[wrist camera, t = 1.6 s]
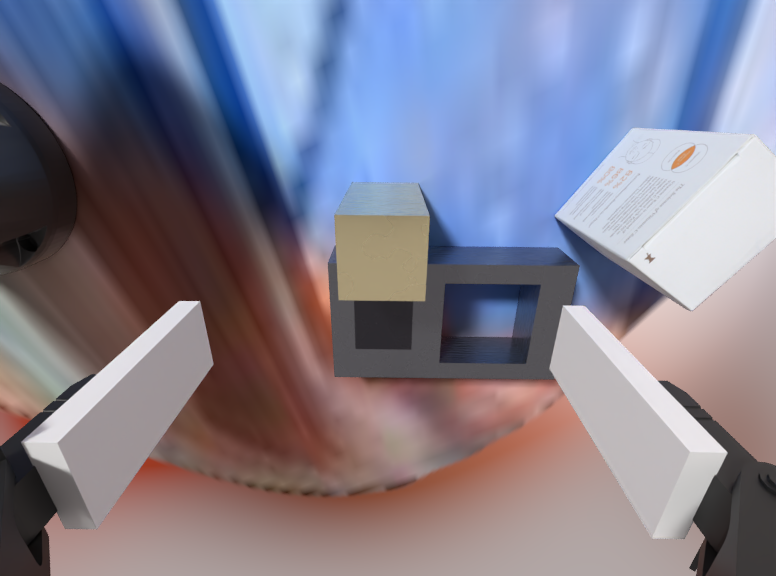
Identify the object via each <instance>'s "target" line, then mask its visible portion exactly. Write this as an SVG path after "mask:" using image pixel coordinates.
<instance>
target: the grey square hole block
mask: <svg viewBox="0 0 776 576" xmlns="http://www.w3.org/2000/svg"><path fill="white" fill-rule="evenodd" d="M579 267H580V266H579V265H578V264H577V263H576V262H575V261H573V260H572V259H571V258H570V257H569V256H567V255H566V254H565V253H564V252H563V251H561V250H560V249H559V248H534V247H442V246H428V261H427V278H426V295H425V301H357V300H339V298H338V278H337V258H336V245H335V247H334V250H333V252H332V254H331V257H330V259H329V262H328V273H329V290H330V307H331V324H332V340H333V357H334V374H335V377H392V378H474V379H554V375H553V374H552V372H551V370H550V369H549V368H550V363H551V359H552V354H553V349H554V345H555V340H556V336H557V331H558V326H559V322H560V317H561V312H562V308H563V305H564V306H571V302H572V297H573V293H574V289H575V284H576V280H577V276H578V271H579ZM445 284H521V287H520V293H519V299H518V305H517V312H516V318H515V324H514V330H513V336H512V338H508V337H441V332H442V319H443V306H444V293H445Z"/></svg>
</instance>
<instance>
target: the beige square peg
mask: <svg viewBox="0 0 776 576" xmlns="http://www.w3.org/2000/svg"><path fill="white" fill-rule="evenodd" d="M334 217H335V237H336V258H337V278H338V298H339V300H357V301H425V295H426V278H427V261H428V243H429V221H430V215H429V212H428V209H427V207H426V204H425V201H424V198H423V195H422V193H421V190H420V187H419V184H418V183H376V182H352V183H351V185H350V187H349V189H348V191H347V192H346V194H345V196H344V198H343V200H342V202H341V204H340V205H339V207H338V209H337V211H336V213H335V215H334Z"/></svg>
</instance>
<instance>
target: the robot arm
mask: <svg viewBox="0 0 776 576" xmlns="http://www.w3.org/2000/svg"><path fill="white" fill-rule="evenodd" d="M76 207H77V201H76V190H75V185H74V180H73V177H72V173H71V170H70V168H69V165H68V163H67V160H66V158H65V156H64V154H63V152H62V150H61V148H60V146H59V144H58V143H57V141H56V140H55V138H54V136H53V135H52V133H51V132H50V131H49V129H48V128H47V126H46V125H45V124H44V123H43V121H42V120H41V119H40V118H39V117H38V116H37V114H36V113H35V112H34V111H33V110H32V109H31V108H30V107H29V106H28V105H27V104H26V103H25V102H24V101H23V100H21V99H20V98H19V97H18V96H17V95H16V94H14V93H13V92H12V91H11V90H9V89H8V88H7V87H5V86H4V85H3V84H1V83H0V275H1V274H7V273H11V272H14V271H18V270H21V269H23V268H26V267H28V266H30V265H33V264H35V263H37V262H40V261H42V260H44V259H46V258H48V257H50V256H51V255H53V254H54V253H55V252H57V251H58V250H59V249H60V248H61V247H62V246H63V244H64V243H65V242H66V240H67V239H68V237H69V235H70V233H71V231H72V229H73V225H74V222H75V217H76ZM212 366H213V359H212V354H211V350H210V345H209V340H208V336H207V331H206V326H205V322H204V317H203V312H202V308H201V303H200V301H179V302H177V303H176V304H175V305H174V306H173V307H172V308H171V309H170V310H168V311H167V312H166V313H165V314H164V315H163V316H162V317H161V318H159V319H158V320H157V321H156V322H155V323H154V324H153V325H152V326H151V327H149V328H148V329H147V330H146V331H145V332H144V333H143V334H142V335H140V336H139V337H138V338H137V339H136V340H135V341H134V342H133V343H131V344H130V345H129V346H128V347H127V348H126V349H125V350H124V351H123V352H121V353H120V354H119V355H118V356H117V357H116V358H115V359H114V360H112V361H111V362H110V363H109V364H108V365H107V366H106V367H105V368H103V369H102V370H101V371H100V372H99V373H98V374H91V375H90V376H88V377H86V378H84V379H82V380H81V381H79V382H77V383H75V384H73V385H72V386H70V387H69V388H68V389H67V390H66V391H65V392H63V393H62V394H61V395H60V396H59V397H58V398H56V401H53V402H52V403H51V404H49V405H48V406H47V407H46V408H45V409H44V411H43V412H40V413H39V414H38V415H37V416H35V417H34V418H33V419H32V420H31V421H30V422H28V423H27V424H26V425H25V426H24V427H23V428H21V429H20V430H19V431H18V432H17V433H16V434H14V436H12V437H11V438H10V439H9V440H7V441H6V442H5V443H4V444H3V445H2V446H0V576H50V556H49V555H50V554H49V536H48V534H47V532H46V530H45V528H44V526H45V525H46V524H47V523H48V521H49V520H50V519H51V518H52V517H53V515H54V514H55V513H56V512H57V514H58V516H59V518H60V520H61V522H62V524H63V526H64V528H65V529H98V527H99V526H100V524H101V523H102V522H103V520H104V519H105V517H106V516H107V514H108V513H109V511H110V510H111V509H112V507H113V506H114V504H115V503H116V502H117V500H118V499H119V497H120V496H121V494H122V493H123V492H124V490H125V489H126V488H127V486H128V485H129V483H130V482H131V481H132V479H133V478H134V476H135V474H136V473H137V472H138V470H139V469H140V468H141V466H142V465H143V464H144V462H145V461H146V459H147V458H148V456H149V455H150V454H151V452H152V451H153V449H154V448H155V447H156V445H157V444H158V442H159V441H160V439H161V438H162V437H163V435H164V434H165V432H166V431H167V430H168V428H169V427H170V425H171V424H172V422H173V421H174V420H175V418H176V417H177V415H178V414H179V413H180V411H181V410H182V408H183V407H184V405H185V404H186V403H187V401H188V400H189V398H190V397H191V396H192V394H193V393H194V391H195V390H196V388H197V387H198V386H199V384H200V383H201V381H202V380H203V379H204V377H205V376H206V374H207V373H208V371H209V370H210V369H211V367H212ZM549 369H550V370H551V372H552V374H553V375H554V377H555V379H556V380H557V382H558V384H559V385H560V387H561V389H562V390H563V392H564V394H565V395H566V397H567V399H568V400H569V402H570V404H571V405H572V407H573V408H574V410H575V412H576V414H577V415H578V417H579V418H580V420H581V422H582V423H583V425H584V427H585V428H586V430H587V432H588V433H589V435H590V437H591V438H592V440H593V442H594V443H595V445H596V447H597V448H598V450H599V452H600V453H601V455H602V457H603V458H604V460H605V461H606V463H607V465H608V467H609V468H610V470H611V472H612V473H613V475H614V476H615V478H616V480H617V482H618V483H619V485H620V486H621V488H622V490H623V491H624V493H625V495H626V496H627V498H628V500H629V501H630V503H631V505H632V506H633V508H634V509H635V511H636V513H637V515H638V516H639V518H640V520H641V521H642V523H643V525H644V526H645V528H646V529H647V531H648V533H649V535H650V536H651V538H654V539H659V538H660V539H685V537H686V535H687V533H688V531H689V529H690V527H691V525H692V523H693V521H694V523H695V524H696V525H697V527H698V528H699V529H700V531H701V532H702V534H703V535H704V536H705V539H704V541H703V543H702V545H701V547H700V549H699V551H698V553H697V554H696V556H695V558H694V560H693V562H692V564H691V566H690V569H691V570H693V571H696V569H697V574H696V576H776V466H775V465H772V464H769V463H765V462H757V460H756V459H754V458H753V456H751V454H749V453H748V452H747V451H746V450H745V449H744V448H743V447H742V446H741V445H740V444H739V443H738V442H737V441H736V440H735V439H734V438H733V437H732V436H731V435H730V434H729V433H728V432H726V430H725V429H724V428H722V427H721V426H720V425H719V424H718V423H717V422H716V421H713V420H712V417H711V416H710V415H709V414H708V413H707V412H706V411H705V410H704V409H701V407H700V405H698V403H697V402H695V400H694V399H692V398H691V397H690V396H689V395H688V394H687V393H686V392H684V391H683V390H681V389H680V388H678V387H676V386H675V385H673V384H671V383H670V382H668V381H657V380H656V379H655V378H654V377H653V376H652V375H651V374H650V373H649V372H648V370H647V369H646V368H645V367H644V366H643V365H641V363H640V362H639V361H638V360H637V359H636V358H635V357H634V356H633V355H632V354H631V353H630V352H629V351H628V350H627V349H626V348H625V347H624V346H623V345H622V344H621V343H620V342H619V341H618V340H617V339H616V338H615V337H614V336H613V335H612V334H611V333H610V332H609V331H608V329H607V328H606V327H605V326H604V325H603V324H602V323H601V322H600V321H599V320H598V319H597V318H596V317H595V316H594V315H593V314H592V313H591V312H590V311H589V310H588V309H587V308H586V307H585V306H564V305H563V308H562V312H561V317H560V322H559V326H558V331H557V336H556V340H555V345H554V349H553V354H552V359H551V363H550V368H549Z"/></svg>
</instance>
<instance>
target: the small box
mask: <svg viewBox="0 0 776 576" xmlns="http://www.w3.org/2000/svg"><path fill="white" fill-rule="evenodd" d="M555 217H556V218H557V219H558V220H559V221H561V222H562V223H563V224H564V225H566V226H567V227H568V228H569V229H570V230H572V231H573V232H574V233H575V234H577V235H578V236H579V237H580V238H582V239H583V240H584V241H586V242H587V243H588V244H589V245H591V246H592V247H593V248H595V249H596V250H597V251H598V252H600V253H601V254H602V255H604V256H605V257H607V258H608V259H610V260H611V261H613V262H614V263H616V264H618V265H619V266H621V267H622V268H624V269H625V270H627V271H628V272H630V273H631V274H633V275H634V276H636V277H638V278H639V279H641V280H642V281H644V282H645V283H647V284H648V285H650V286H651V287H653V288H654V289H656V290H657V291H659V292H661V293H662V294H663V295H665V296H666V297H668V298H670V299H671V300H673V301H674V302H676V303H677V304H679V305H681V306H682V307H684V308H685V309H687V310H689V311H693V310H695V309H696V308H697V307H698V306H699V305H700V304H701V303H702V302H703V301H704V300H706V299H707V298H708V297H709V296H710V295H712V293H714V292H715V291H716V290H717V289H719V288H720V287H721V286H722V285H723V284H724V283H725V282H726V281H728V280H729V279H730V278H731V277H732V276H733V275H734V274H736V273H737V272H738V271H739V270H740V269H741V268H742V267H744V266H745V265H746V264H747V263H748V262H749V261H750V260H752V259H753V258H754V257H755V256H756V255H757V254H759V253H760V252H761V251H762V250H763V249H764V248H766V247H767V246H768V245H769V244H770V243H771V242H772V241H773V240H775V239H776V156H775V155H774V154H773V153H772V152H771V151H770V150H769V148H768V147H767V146H766V145H765V144H764V143H763V142H762V141H761V140H760V139H759V138H758V137H757V136H756V135H753V134H737V133H721V132H701V131H685V130H665V129H647V128H632V129H631V130H630V131H629V132H628V133H627V135H626V136H625V137H624V138H623V139H622V140H621V141H620V143H619V144H618V145H617V146H616V147H615V148H614V149H613V150H612V152H611V153H610V154H609V155H608V156H607V157H606V158H605V159H604V161H603V162H602V163H601V164H600V165H599V166H598V167H597V169H596V170H595V171H594V172H593V173H592V174H591V175H590V176H589V177H588V179H587V180H586V181H585V182H584V183H583V184H582V185H581V187H580V188H579V189H578V190H577V191H576V192H575V193H574V194H573V196H572V197H571V198H570V199H569V200H568V201H567V202H566V203H565V205H564V206H563V207H562V208H561V209H560V210H559V211H558V212H557V213H556V215H555Z"/></svg>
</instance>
